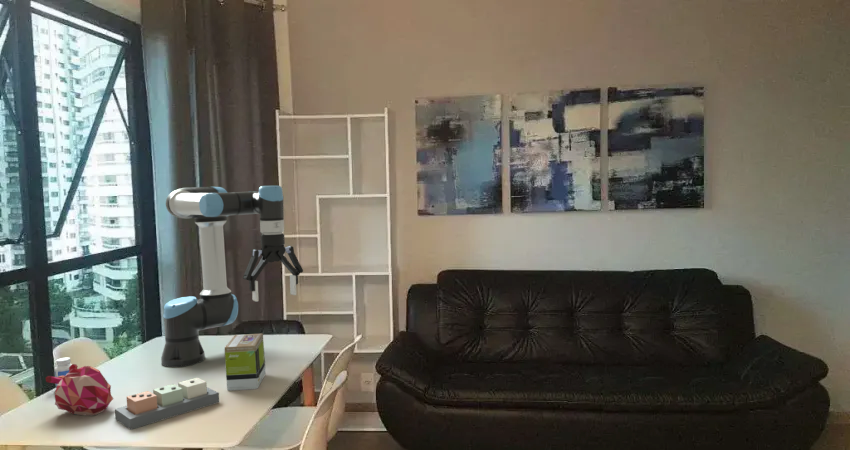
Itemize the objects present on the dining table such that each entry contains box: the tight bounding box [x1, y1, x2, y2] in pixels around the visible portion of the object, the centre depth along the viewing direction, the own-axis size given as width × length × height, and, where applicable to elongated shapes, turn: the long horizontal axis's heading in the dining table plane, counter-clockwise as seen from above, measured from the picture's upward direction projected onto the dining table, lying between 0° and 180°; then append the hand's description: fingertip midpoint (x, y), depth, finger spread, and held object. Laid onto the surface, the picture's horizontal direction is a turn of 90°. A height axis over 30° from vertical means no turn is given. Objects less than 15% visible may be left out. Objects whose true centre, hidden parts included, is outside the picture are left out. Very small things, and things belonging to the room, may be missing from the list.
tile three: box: [126, 390, 157, 415], centre depth 172 cm, size 6×6×4 cm
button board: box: [114, 386, 220, 430], centre depth 178 cm, size 11×26×3 cm, turn 137°
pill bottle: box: [54, 356, 72, 388], centre depth 199 cm, size 6×5×10 cm
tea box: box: [224, 333, 267, 392], centre depth 201 cm, size 15×10×15 cm, turn 5°
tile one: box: [177, 377, 208, 399], centre depth 183 cm, size 6×6×4 cm
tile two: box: [152, 383, 183, 407], centre depth 178 cm, size 6×6×4 cm
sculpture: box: [45, 363, 114, 416], centre depth 179 cm, size 14×12×20 cm
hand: (274, 297), depth 198 cm, fingers open, 13 cm apart
